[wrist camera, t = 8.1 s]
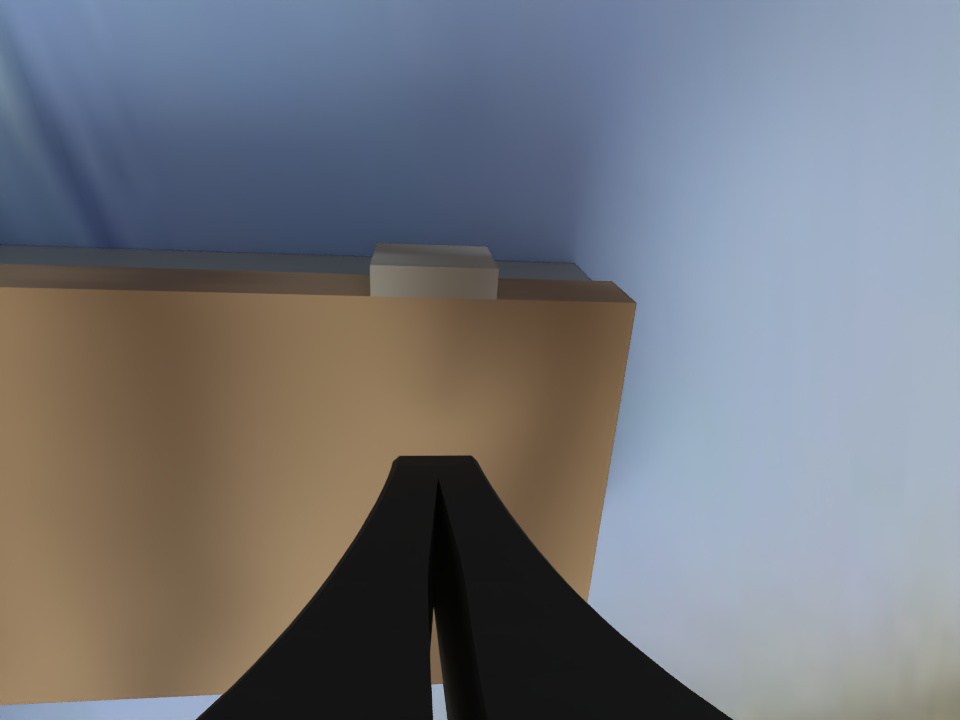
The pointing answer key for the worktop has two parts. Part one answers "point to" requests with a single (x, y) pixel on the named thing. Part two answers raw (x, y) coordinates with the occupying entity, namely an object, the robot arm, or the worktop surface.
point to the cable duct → (247, 261)
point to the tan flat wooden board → (268, 446)
